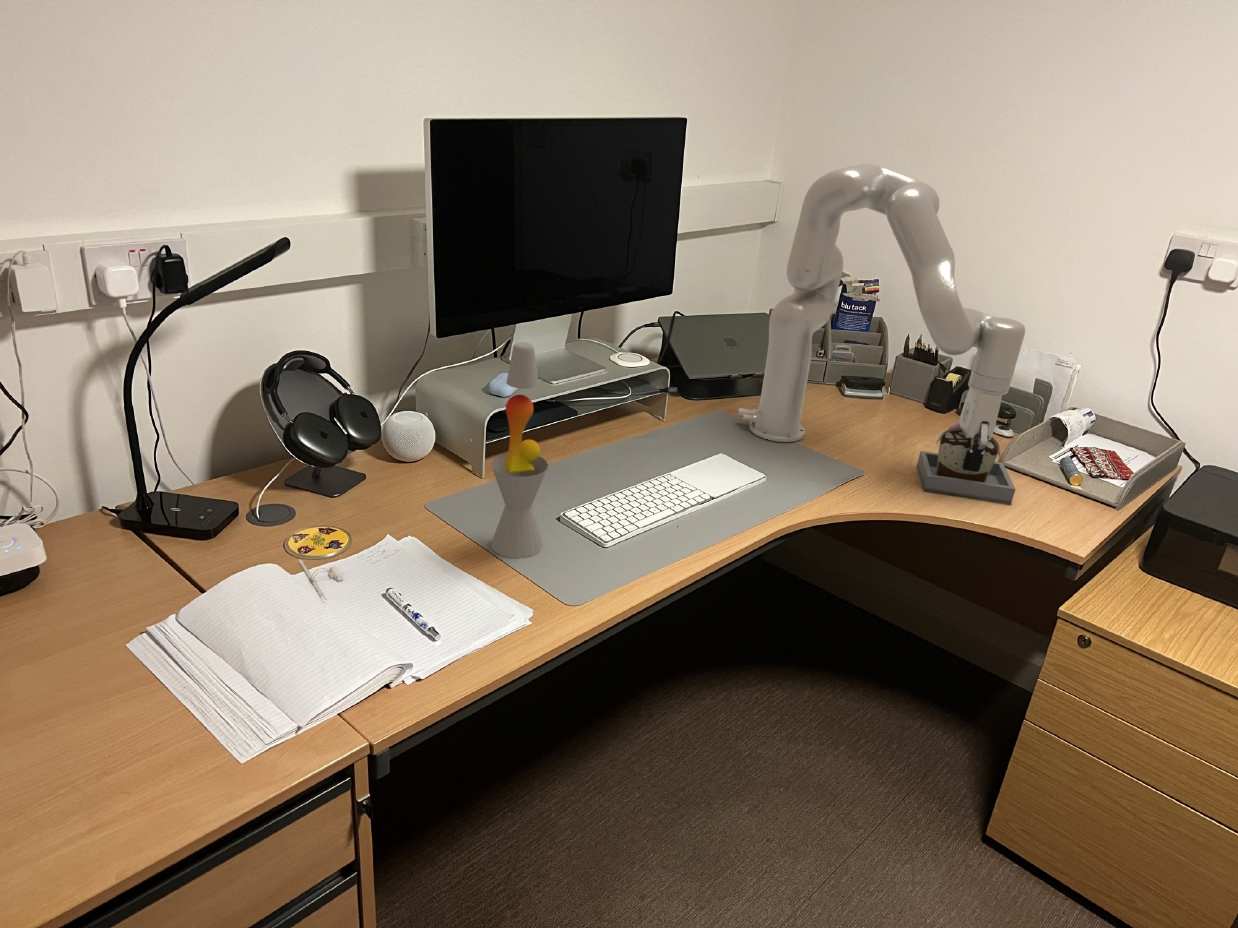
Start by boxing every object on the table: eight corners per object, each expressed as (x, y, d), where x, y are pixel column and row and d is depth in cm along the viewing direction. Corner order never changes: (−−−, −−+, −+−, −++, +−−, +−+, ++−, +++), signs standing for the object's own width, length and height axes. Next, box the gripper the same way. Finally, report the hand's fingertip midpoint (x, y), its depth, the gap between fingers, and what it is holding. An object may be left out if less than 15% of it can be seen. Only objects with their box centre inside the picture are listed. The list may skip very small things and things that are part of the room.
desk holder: (923, 491, 179) (927, 476, 177) (916, 465, 190) (920, 450, 189) (1010, 504, 176) (1015, 489, 175) (998, 477, 188) (1002, 462, 186)
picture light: (296, 562, 138) (296, 550, 137) (324, 556, 141) (324, 544, 140) (324, 607, 128) (324, 595, 127) (354, 600, 130) (353, 588, 130)
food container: (993, 473, 185) (1005, 433, 179) (990, 489, 180) (1002, 449, 174) (932, 459, 189) (942, 420, 183) (928, 475, 184) (938, 435, 178)
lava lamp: (498, 562, 142) (503, 355, 127) (483, 535, 149) (486, 336, 134) (551, 554, 146) (562, 352, 131) (534, 527, 153) (542, 334, 138)
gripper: (963, 365, 182) (942, 443, 189) (977, 393, 166) (954, 477, 174) (1001, 370, 181) (979, 448, 188) (1018, 399, 165) (994, 483, 173)
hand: (967, 461), depth 181 cm, fingers open, 7 cm apart
